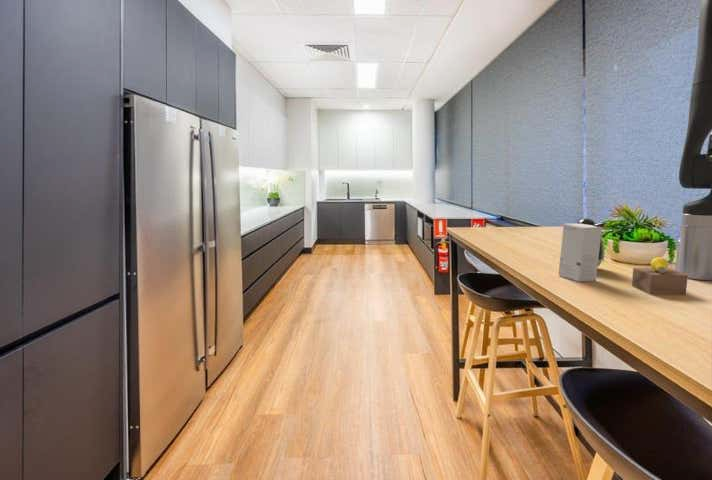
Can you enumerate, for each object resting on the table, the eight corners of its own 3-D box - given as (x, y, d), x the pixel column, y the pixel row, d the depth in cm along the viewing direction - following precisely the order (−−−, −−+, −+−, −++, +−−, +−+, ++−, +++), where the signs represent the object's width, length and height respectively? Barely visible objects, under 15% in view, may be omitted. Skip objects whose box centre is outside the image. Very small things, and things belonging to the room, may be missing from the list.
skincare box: (557, 275, 123) (560, 223, 121) (576, 274, 125) (579, 222, 123) (579, 282, 115) (583, 226, 113) (598, 281, 117) (602, 225, 115)
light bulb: (661, 269, 108) (669, 257, 106) (666, 281, 103) (674, 268, 101) (647, 264, 109) (654, 252, 107) (650, 275, 104) (658, 263, 102)
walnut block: (631, 287, 111) (633, 268, 110) (665, 287, 110) (667, 268, 110) (649, 295, 103) (651, 274, 103) (685, 296, 102) (687, 275, 102)
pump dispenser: (592, 273, 126) (595, 221, 123) (558, 267, 134) (561, 218, 132) (610, 269, 131) (613, 218, 129) (576, 263, 140) (579, 216, 138)
